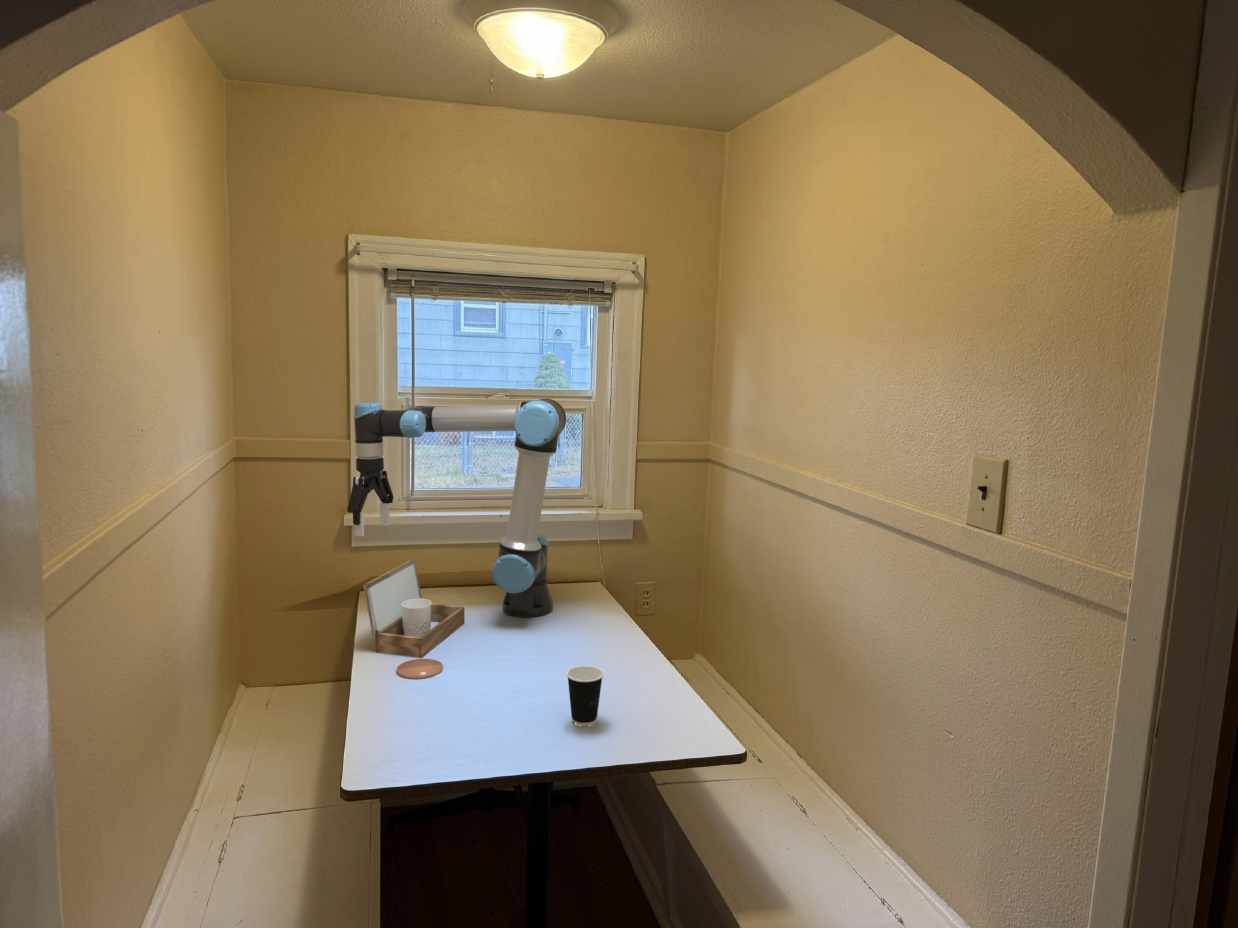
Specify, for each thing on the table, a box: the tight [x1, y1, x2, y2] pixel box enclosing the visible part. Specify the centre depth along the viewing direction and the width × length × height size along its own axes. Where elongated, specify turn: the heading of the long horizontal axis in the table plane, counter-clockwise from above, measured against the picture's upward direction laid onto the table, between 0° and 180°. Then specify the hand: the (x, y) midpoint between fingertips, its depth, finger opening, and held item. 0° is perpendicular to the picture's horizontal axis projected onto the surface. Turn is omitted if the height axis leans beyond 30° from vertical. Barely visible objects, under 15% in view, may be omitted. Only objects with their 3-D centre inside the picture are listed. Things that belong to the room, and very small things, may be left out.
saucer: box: [396, 658, 444, 680], centre depth 194 cm, size 11×11×1 cm
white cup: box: [401, 598, 433, 637], centre depth 214 cm, size 8×8×10 cm
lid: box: [362, 558, 423, 635], centre depth 216 cm, size 13×26×1 cm
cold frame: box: [374, 603, 466, 659], centre depth 215 cm, size 13×26×6 cm, turn 167°
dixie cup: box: [565, 665, 605, 727], centre depth 169 cm, size 8×8×11 cm
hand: (372, 530), depth 228 cm, fingers open, 13 cm apart
